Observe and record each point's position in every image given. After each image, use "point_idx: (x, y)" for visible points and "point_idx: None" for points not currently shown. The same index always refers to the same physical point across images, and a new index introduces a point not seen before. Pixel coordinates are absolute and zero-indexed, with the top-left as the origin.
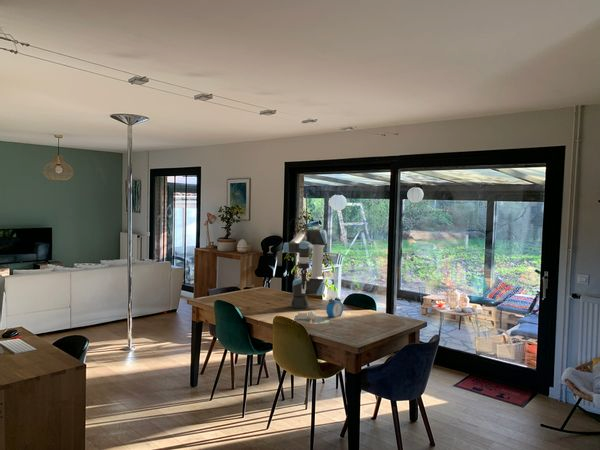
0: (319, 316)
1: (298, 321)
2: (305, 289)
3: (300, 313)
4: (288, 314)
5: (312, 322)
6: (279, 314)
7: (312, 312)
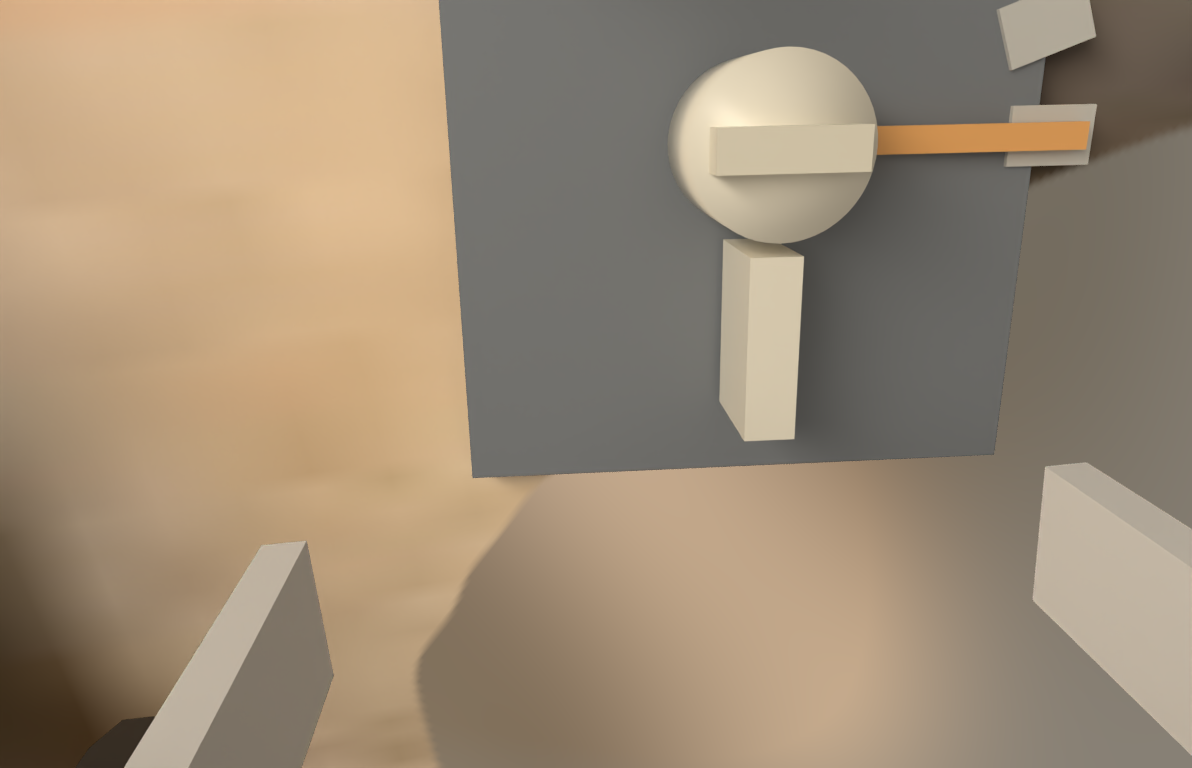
0: (456, 2)
1: (909, 365)
2: (307, 569)
3: (793, 387)
4: None
5: (967, 105)
6: (334, 731)
7: (869, 126)
